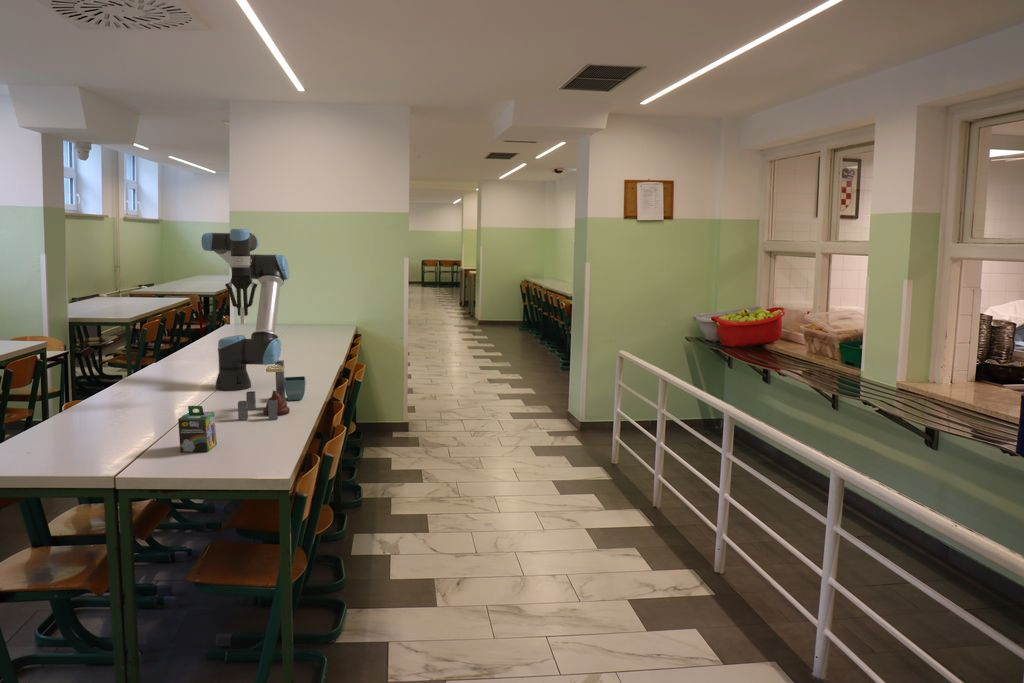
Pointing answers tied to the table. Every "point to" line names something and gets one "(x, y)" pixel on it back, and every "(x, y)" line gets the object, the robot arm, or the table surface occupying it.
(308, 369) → the table surface
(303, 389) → the flower pot
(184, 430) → the chalk box
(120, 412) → the table surface
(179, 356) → the table surface
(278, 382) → the sight ring stand
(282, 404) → the poop emoji
